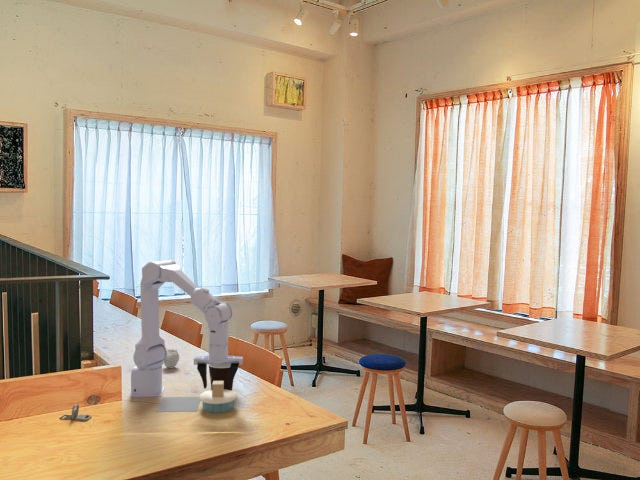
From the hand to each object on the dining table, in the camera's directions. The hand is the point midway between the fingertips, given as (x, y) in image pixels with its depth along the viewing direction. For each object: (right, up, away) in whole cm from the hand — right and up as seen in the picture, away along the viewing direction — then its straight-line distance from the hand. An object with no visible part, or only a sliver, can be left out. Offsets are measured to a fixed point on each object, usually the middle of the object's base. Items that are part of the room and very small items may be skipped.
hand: (218, 387), depth 169 cm
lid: (0, -3, 0) cm, 3 cm away
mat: (-12, -6, +2) cm, 14 cm away
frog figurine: (-25, -3, +39) cm, 47 cm away
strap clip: (-39, -7, -9) cm, 41 cm away
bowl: (0, -7, 0) cm, 7 cm away
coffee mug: (-1, -6, +14) cm, 16 cm away
